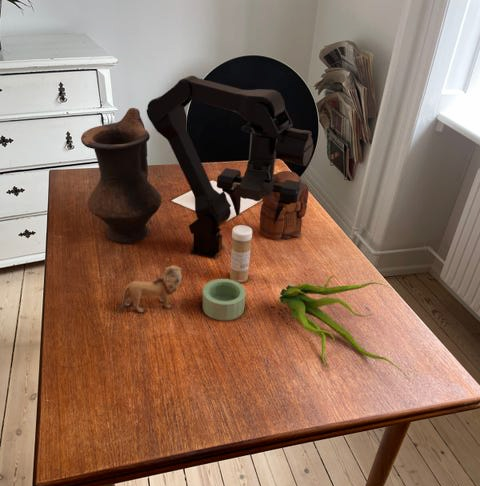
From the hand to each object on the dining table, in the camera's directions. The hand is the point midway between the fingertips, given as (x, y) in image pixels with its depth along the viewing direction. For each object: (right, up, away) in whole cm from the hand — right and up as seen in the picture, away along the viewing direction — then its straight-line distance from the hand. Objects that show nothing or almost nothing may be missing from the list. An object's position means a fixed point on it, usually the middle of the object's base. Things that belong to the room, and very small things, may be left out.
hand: (256, 219), depth 118 cm
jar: (-8, -21, -6) cm, 23 cm away
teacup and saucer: (-11, +13, +35) cm, 38 cm away
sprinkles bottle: (-4, -14, +4) cm, 15 cm away
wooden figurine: (+7, 0, +21) cm, 23 cm away
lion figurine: (-23, -20, -6) cm, 32 cm away
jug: (-34, 0, +17) cm, 37 cm away
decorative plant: (+17, -28, -11) cm, 35 cm away
